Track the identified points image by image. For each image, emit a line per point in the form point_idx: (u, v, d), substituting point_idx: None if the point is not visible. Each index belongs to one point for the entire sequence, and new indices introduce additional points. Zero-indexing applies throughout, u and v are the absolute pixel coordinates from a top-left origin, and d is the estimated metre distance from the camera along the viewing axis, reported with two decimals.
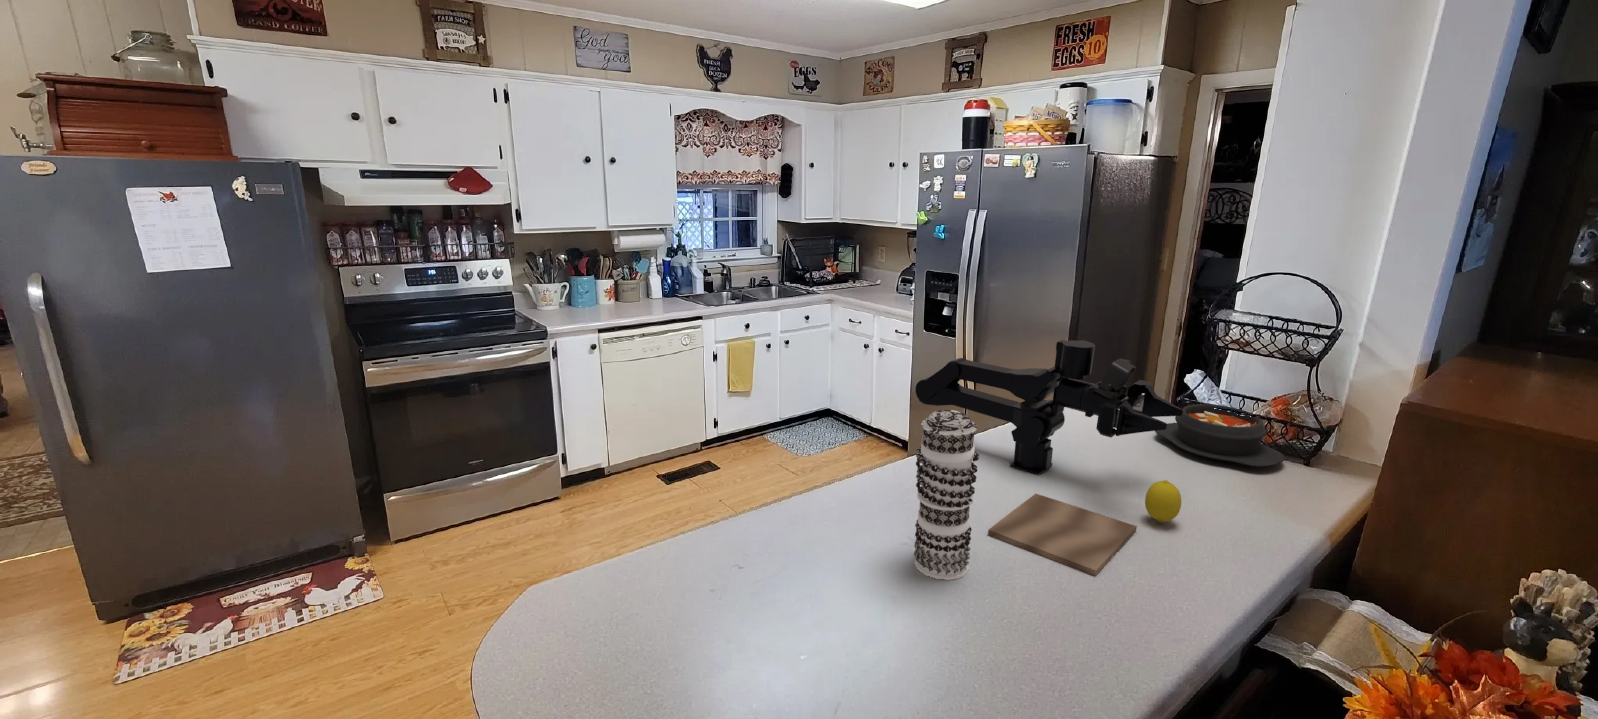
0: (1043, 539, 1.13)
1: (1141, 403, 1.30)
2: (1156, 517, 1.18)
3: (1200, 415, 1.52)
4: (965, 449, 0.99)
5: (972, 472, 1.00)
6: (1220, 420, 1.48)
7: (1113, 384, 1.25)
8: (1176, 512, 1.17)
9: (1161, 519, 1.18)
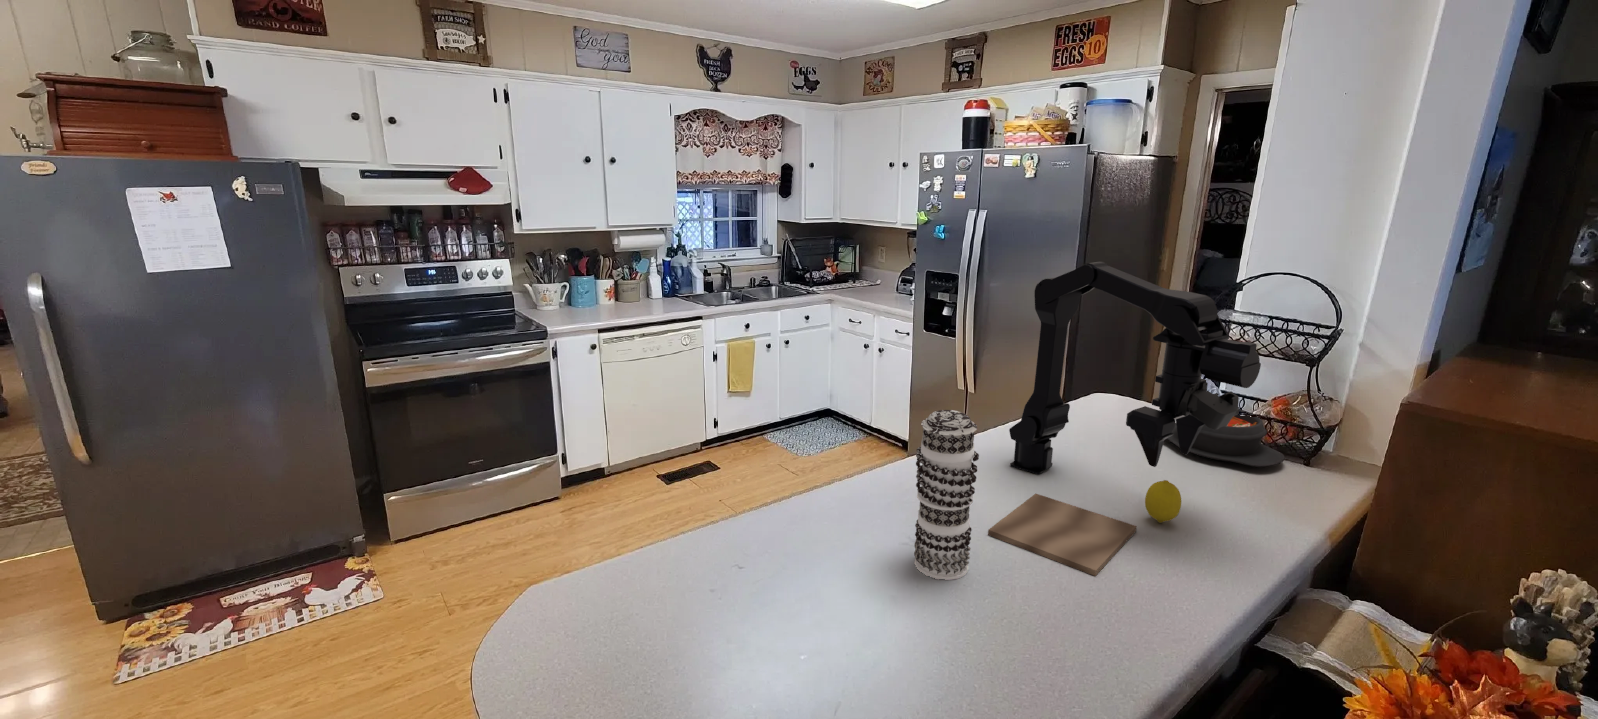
0: (1043, 539, 1.13)
1: None
2: (1156, 517, 1.18)
3: None
4: (965, 449, 0.99)
5: (972, 472, 1.00)
6: None
7: (1196, 412, 1.09)
8: (1176, 512, 1.17)
9: (1161, 519, 1.18)
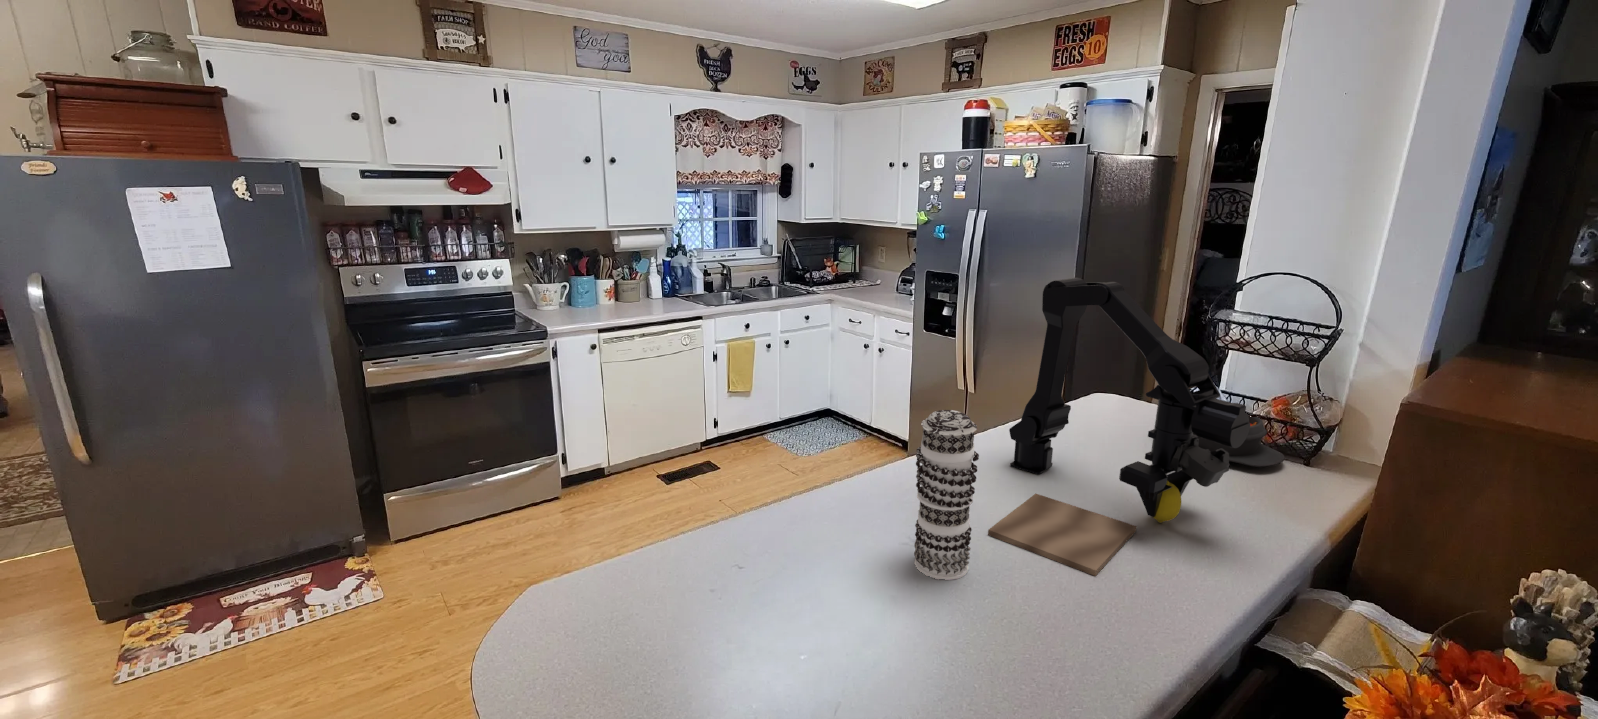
0: (1043, 539, 1.13)
1: None
2: (1156, 517, 1.18)
3: None
4: (965, 449, 0.99)
5: (972, 472, 1.00)
6: None
7: (1187, 469, 1.12)
8: (1176, 512, 1.17)
9: (1161, 519, 1.18)
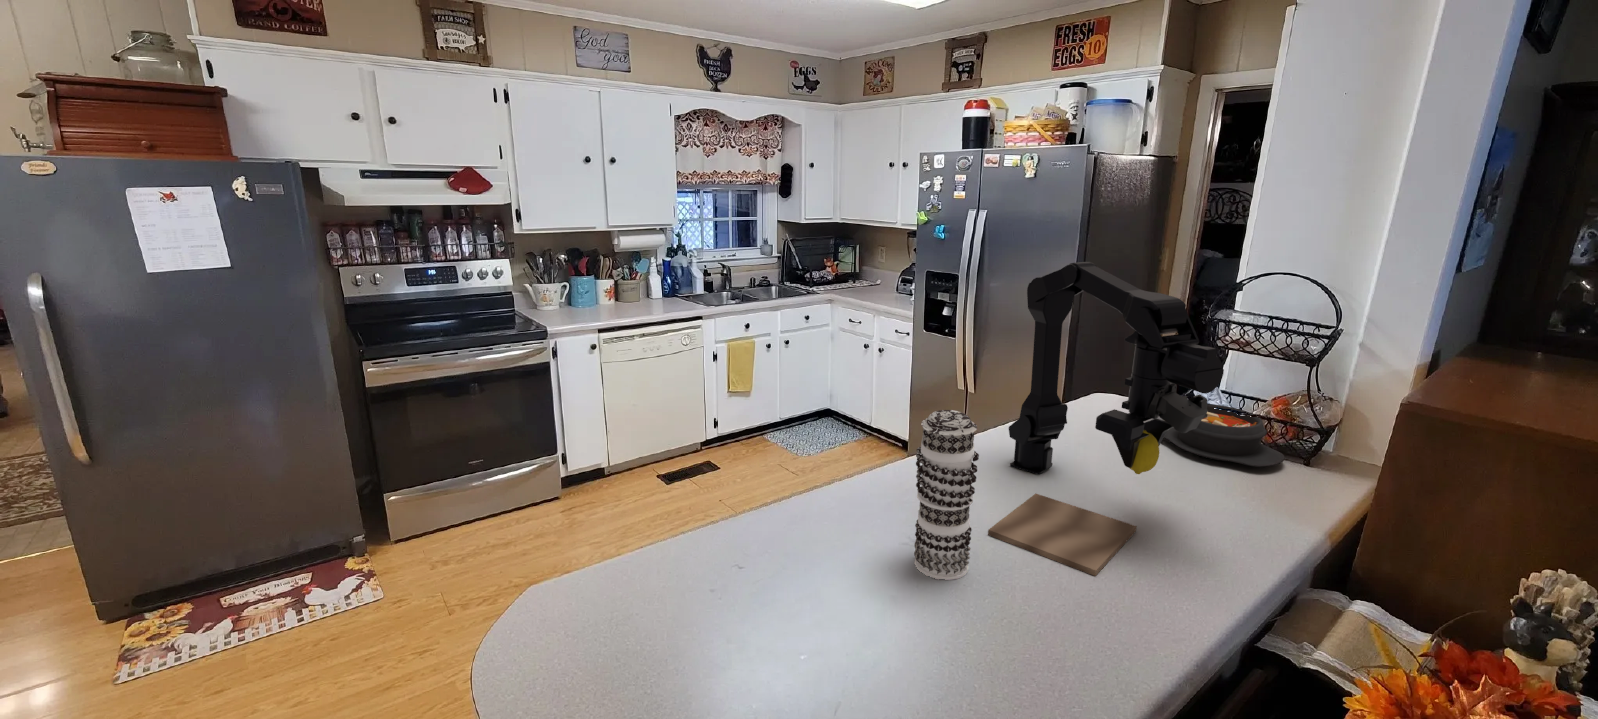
0: (1043, 539, 1.13)
1: None
2: (1133, 468, 1.15)
3: None
4: (965, 449, 0.99)
5: (972, 472, 1.00)
6: (1220, 420, 1.48)
7: (1165, 416, 1.08)
8: (1154, 462, 1.13)
9: (1138, 470, 1.14)
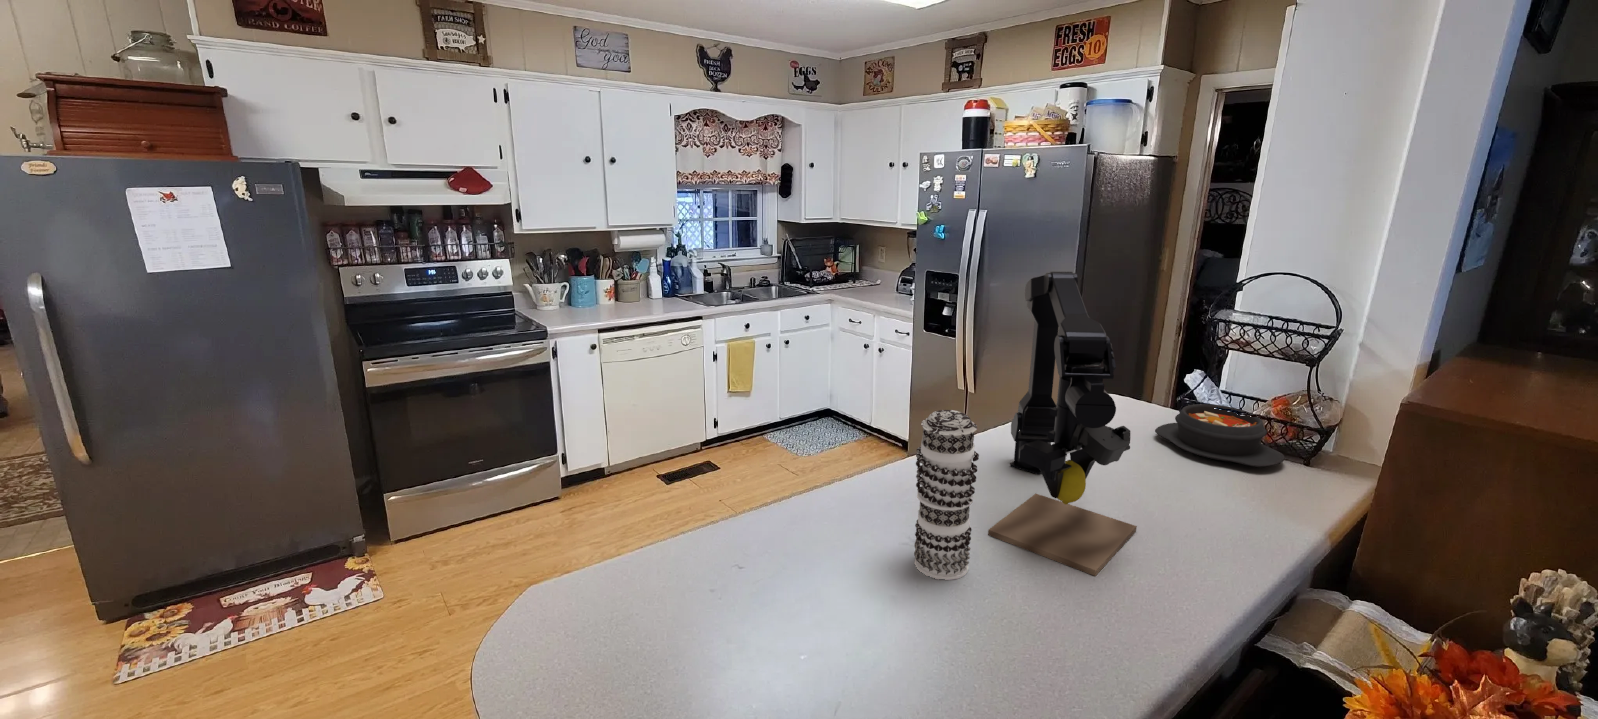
0: (1043, 539, 1.13)
1: None
2: (1060, 498, 1.14)
3: (1200, 415, 1.52)
4: (965, 449, 0.99)
5: (972, 472, 1.00)
6: (1220, 420, 1.48)
7: (1086, 447, 1.07)
8: (1080, 493, 1.12)
9: (1065, 500, 1.13)
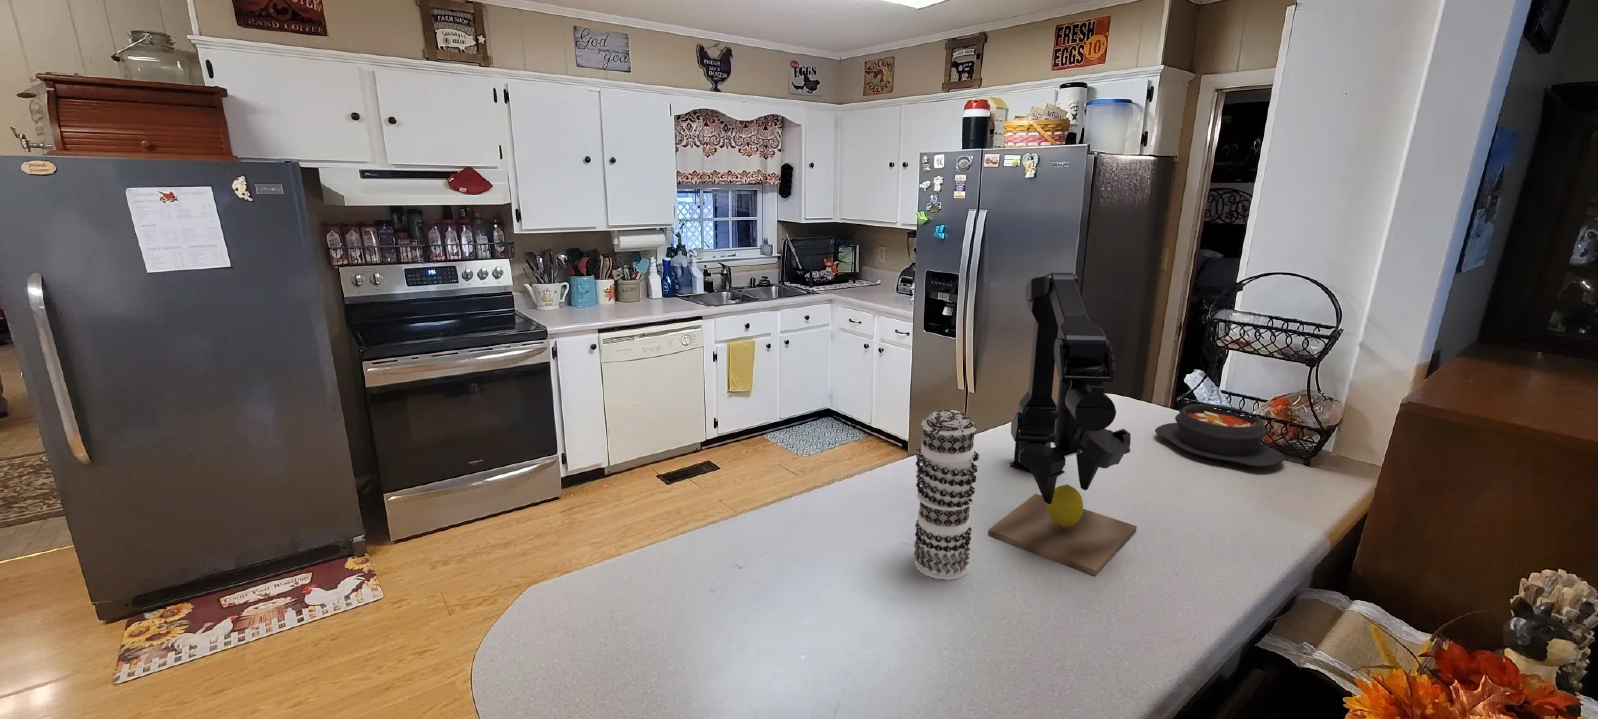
0: (1043, 539, 1.13)
1: None
2: (1058, 523, 1.15)
3: (1200, 415, 1.52)
4: (965, 449, 0.99)
5: (972, 472, 1.00)
6: (1220, 420, 1.48)
7: (1087, 450, 1.07)
8: (1077, 517, 1.13)
9: (1062, 525, 1.14)
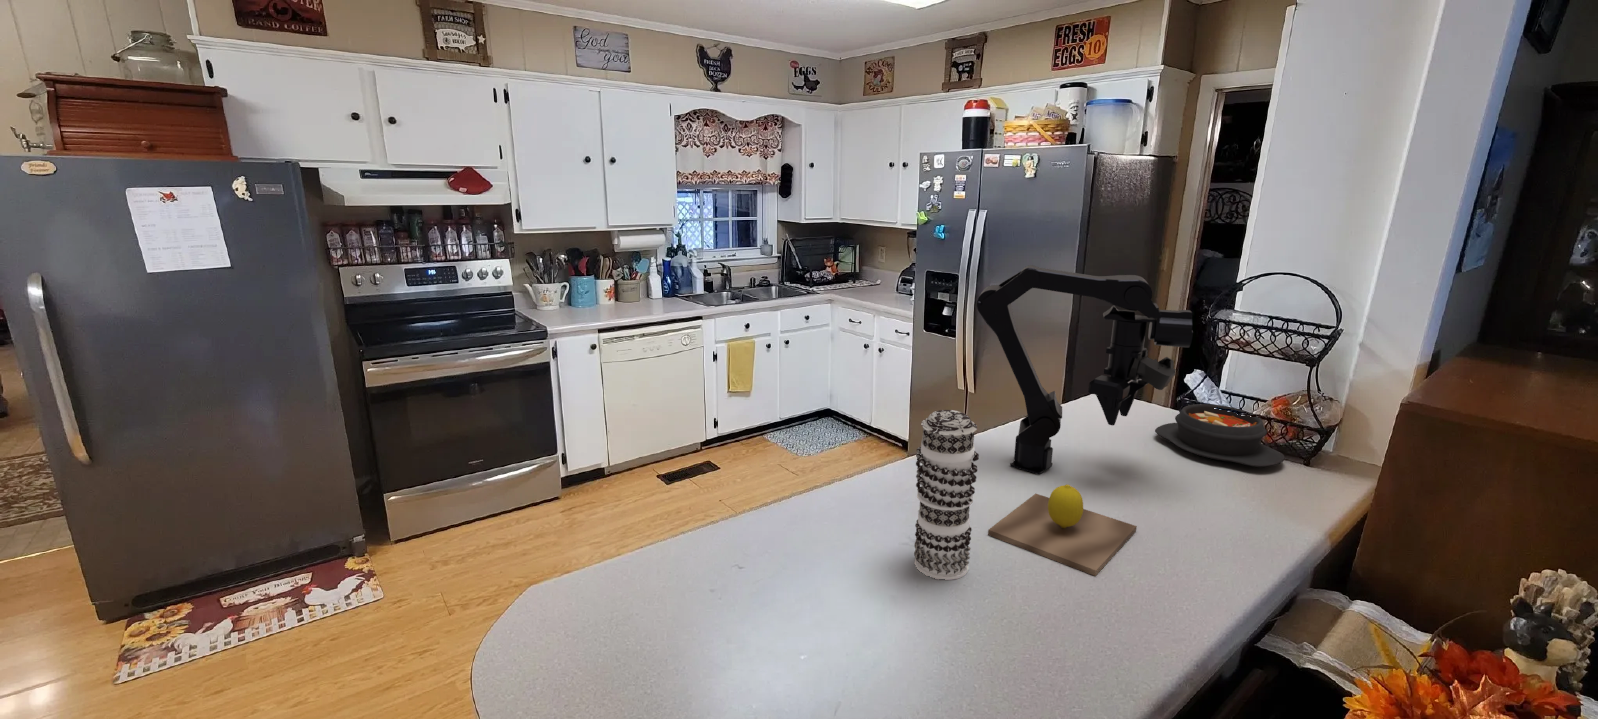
0: (1043, 539, 1.13)
1: None
2: (1058, 522, 1.15)
3: (1200, 415, 1.52)
4: (965, 449, 0.99)
5: (972, 472, 1.00)
6: (1220, 420, 1.48)
7: (1144, 377, 1.27)
8: (1077, 517, 1.13)
9: (1062, 524, 1.14)
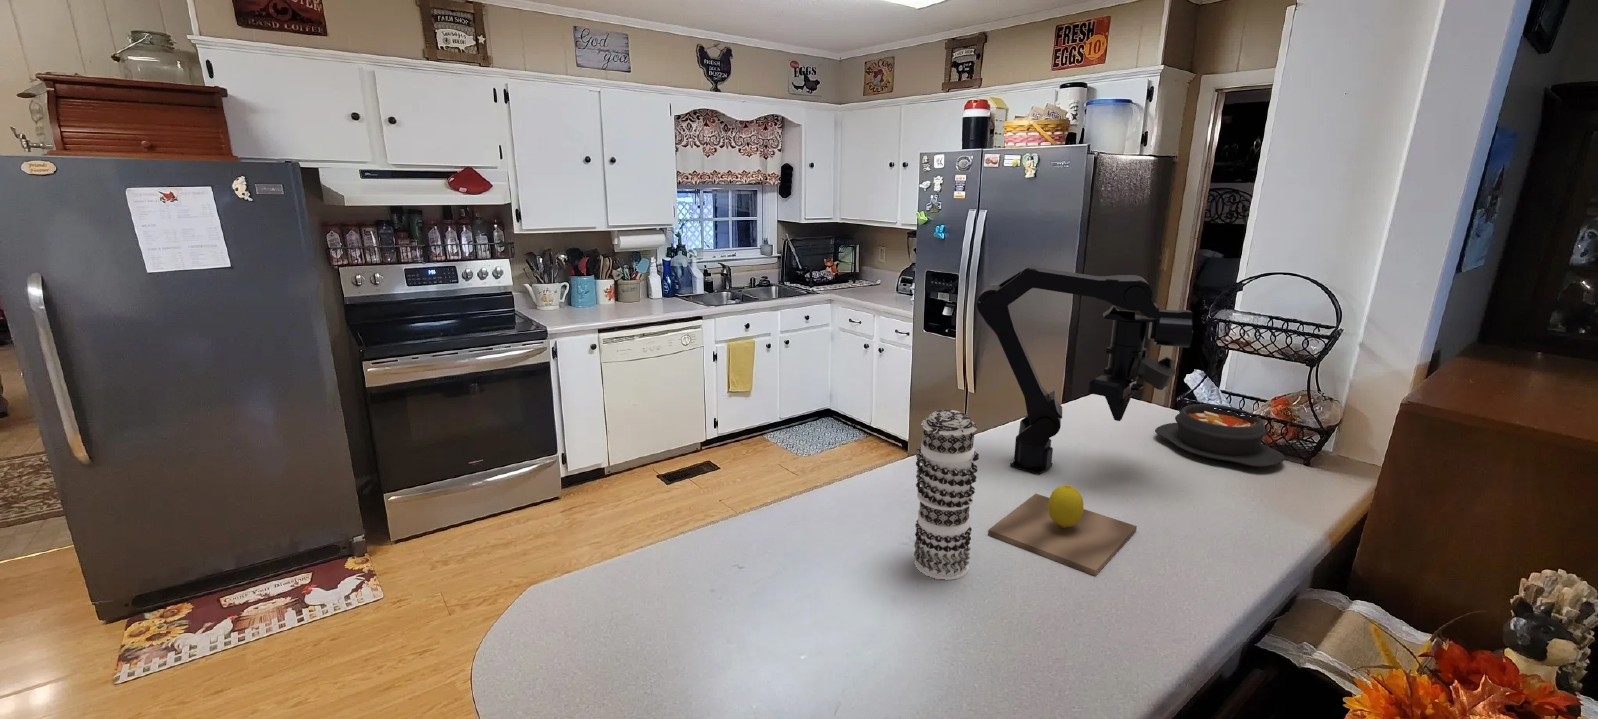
0: (1043, 539, 1.13)
1: None
2: (1058, 522, 1.15)
3: (1200, 415, 1.52)
4: (965, 449, 0.99)
5: (972, 472, 1.00)
6: (1220, 420, 1.48)
7: (1144, 376, 1.27)
8: (1077, 517, 1.13)
9: (1062, 524, 1.14)
